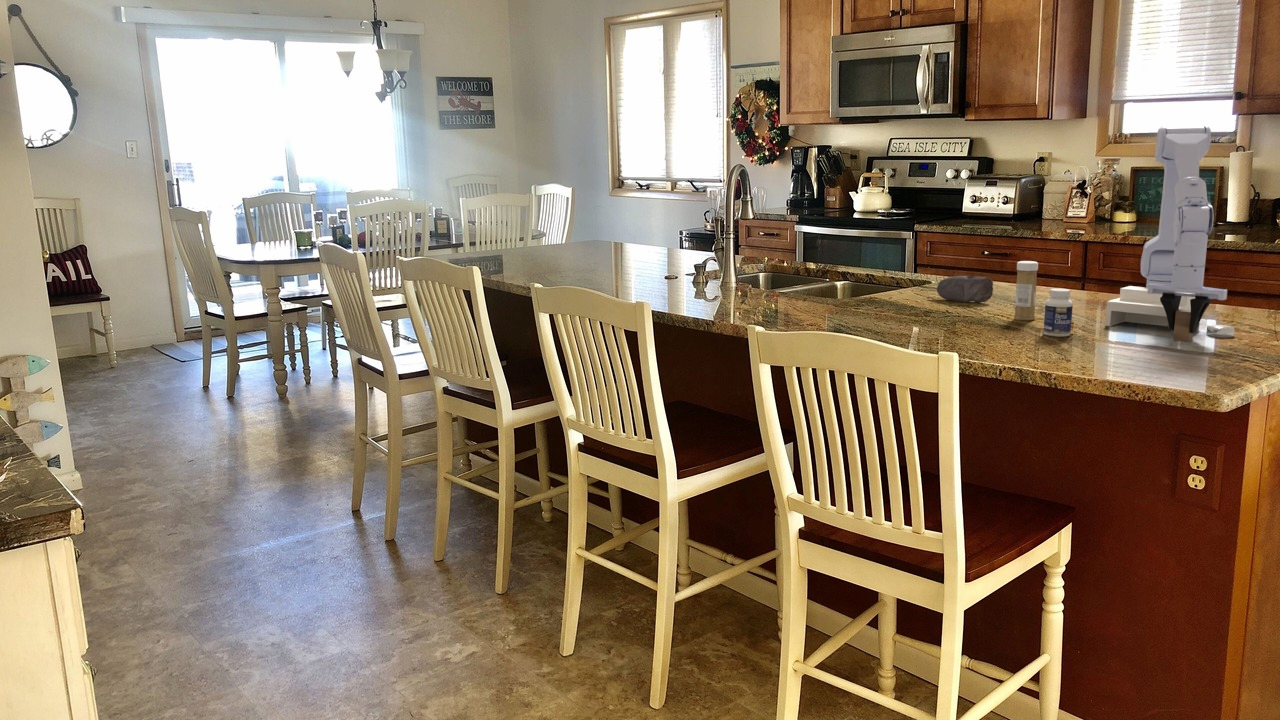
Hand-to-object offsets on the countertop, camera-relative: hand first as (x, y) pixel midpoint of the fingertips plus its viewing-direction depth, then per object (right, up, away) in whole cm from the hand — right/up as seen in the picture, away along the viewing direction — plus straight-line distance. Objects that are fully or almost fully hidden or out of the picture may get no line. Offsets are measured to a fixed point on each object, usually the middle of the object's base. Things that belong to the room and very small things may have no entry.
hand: (1182, 331), depth 208 cm
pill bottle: (-23, -1, +8) cm, 24 cm away
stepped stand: (0, +1, +14) cm, 14 cm away
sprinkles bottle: (-23, +3, +27) cm, 35 cm away
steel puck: (+10, -1, +4) cm, 11 cm away
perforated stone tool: (-28, +9, +53) cm, 61 cm away
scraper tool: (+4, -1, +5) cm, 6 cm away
